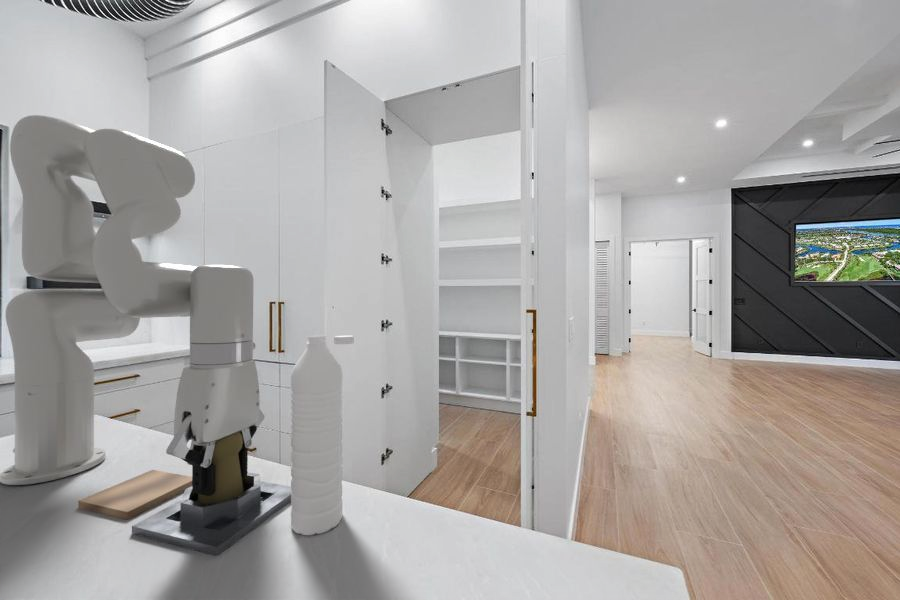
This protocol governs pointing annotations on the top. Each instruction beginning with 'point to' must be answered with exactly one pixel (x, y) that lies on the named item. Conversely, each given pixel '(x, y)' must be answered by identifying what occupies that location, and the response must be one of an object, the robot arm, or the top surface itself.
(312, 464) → the water bottle
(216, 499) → the cork
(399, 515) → the top surface
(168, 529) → the grey octagonal holder
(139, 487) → the coaster board
